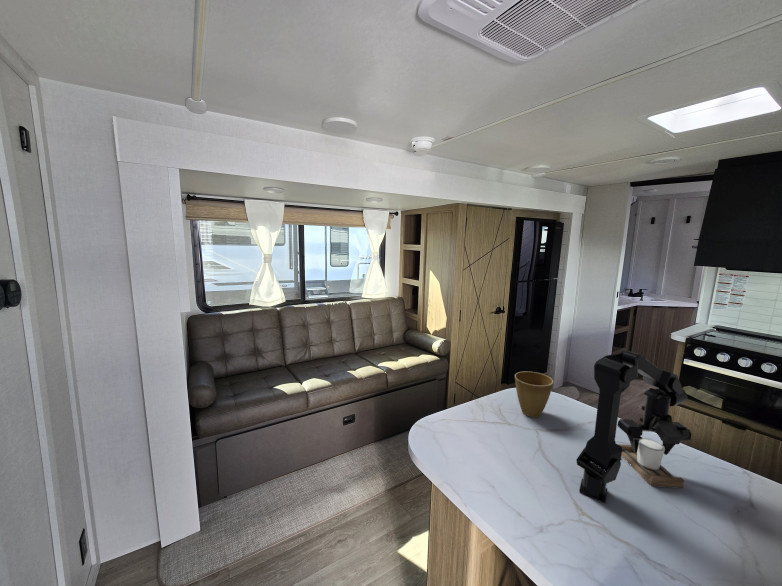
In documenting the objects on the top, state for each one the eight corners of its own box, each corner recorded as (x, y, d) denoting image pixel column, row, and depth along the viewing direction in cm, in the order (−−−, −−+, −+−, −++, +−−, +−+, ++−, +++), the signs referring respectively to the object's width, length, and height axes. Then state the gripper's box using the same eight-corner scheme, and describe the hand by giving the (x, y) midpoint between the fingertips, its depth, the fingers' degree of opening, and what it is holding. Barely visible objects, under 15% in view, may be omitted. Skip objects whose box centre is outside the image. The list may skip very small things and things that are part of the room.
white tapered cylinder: (648, 456, 105) (651, 437, 104) (667, 470, 98) (671, 450, 97) (629, 456, 105) (632, 437, 104) (647, 471, 98) (650, 451, 97)
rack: (682, 488, 94) (684, 479, 93) (650, 486, 94) (652, 477, 94) (644, 453, 109) (645, 446, 109) (617, 451, 110) (618, 444, 110)
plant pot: (537, 404, 143) (541, 370, 140) (557, 422, 128) (561, 385, 126) (506, 404, 142) (508, 371, 139) (522, 422, 127) (525, 385, 125)
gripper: (643, 420, 91) (636, 468, 94) (712, 424, 90) (703, 473, 92) (619, 401, 102) (613, 445, 105) (680, 404, 101) (672, 448, 103)
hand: (649, 453), depth 101 cm, fingers open, 9 cm apart
